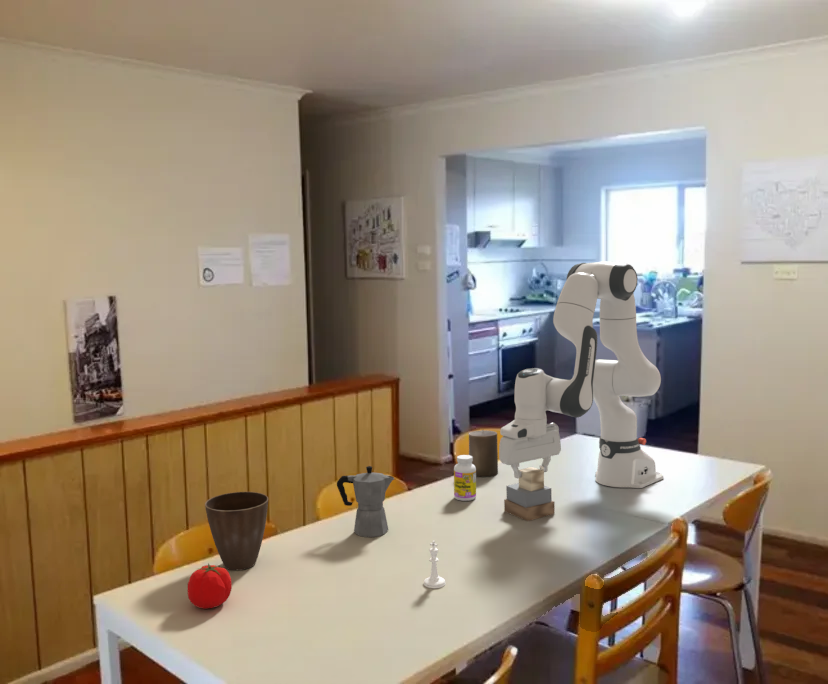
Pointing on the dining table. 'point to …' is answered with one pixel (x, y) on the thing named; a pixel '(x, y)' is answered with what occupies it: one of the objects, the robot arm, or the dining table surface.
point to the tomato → (209, 586)
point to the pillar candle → (484, 452)
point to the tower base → (529, 510)
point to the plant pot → (237, 527)
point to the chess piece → (434, 570)
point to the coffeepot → (368, 501)
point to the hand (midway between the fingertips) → (531, 474)
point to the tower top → (528, 495)
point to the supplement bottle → (464, 479)
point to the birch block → (531, 479)
